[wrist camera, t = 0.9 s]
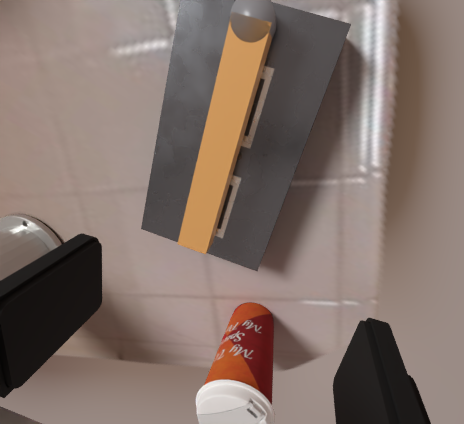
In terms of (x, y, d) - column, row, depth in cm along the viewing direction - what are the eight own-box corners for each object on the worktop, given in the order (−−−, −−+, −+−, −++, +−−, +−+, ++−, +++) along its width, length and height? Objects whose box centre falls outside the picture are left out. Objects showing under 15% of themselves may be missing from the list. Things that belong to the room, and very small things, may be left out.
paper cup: (253, 285, 37) (231, 380, 25) (293, 325, 38) (292, 437, 25) (213, 314, 40) (174, 412, 28) (251, 350, 41) (230, 462, 28)
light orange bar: (243, -4, 23) (236, -16, 20) (282, 7, 22) (280, -4, 20) (185, 233, 31) (176, 243, 29) (213, 243, 31) (206, 254, 28)
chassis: (261, 253, 36) (256, 274, 31) (156, 216, 37) (138, 231, 33) (343, 35, 26) (352, 21, 22) (199, -6, 27) (181, -26, 23)
